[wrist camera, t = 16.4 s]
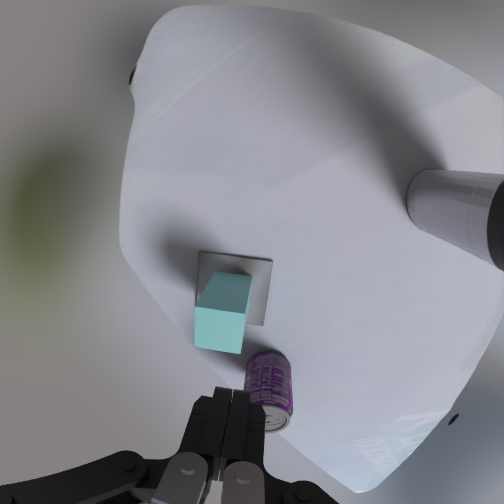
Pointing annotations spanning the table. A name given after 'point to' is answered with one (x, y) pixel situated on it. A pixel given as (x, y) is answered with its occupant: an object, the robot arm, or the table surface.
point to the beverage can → (271, 388)
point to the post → (241, 266)
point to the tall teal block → (222, 312)
